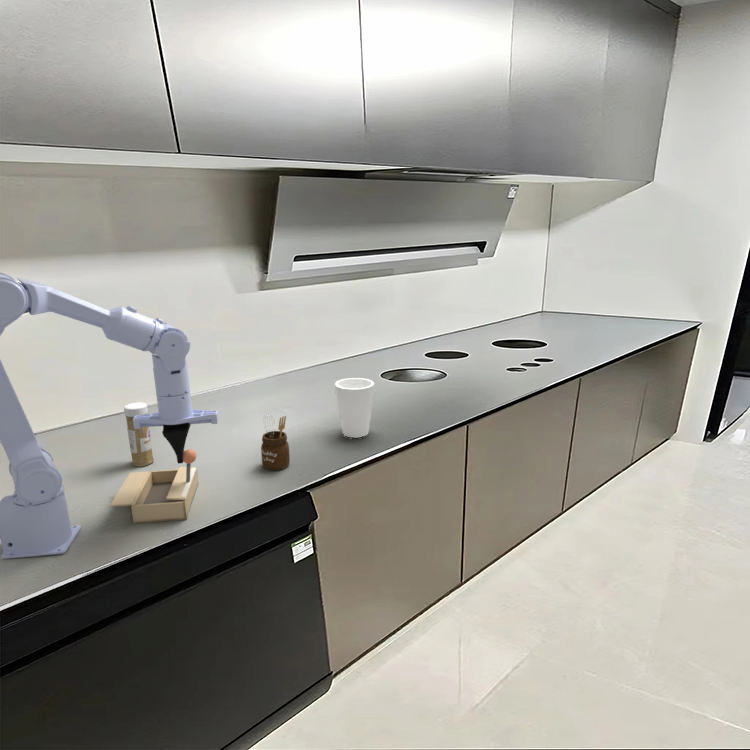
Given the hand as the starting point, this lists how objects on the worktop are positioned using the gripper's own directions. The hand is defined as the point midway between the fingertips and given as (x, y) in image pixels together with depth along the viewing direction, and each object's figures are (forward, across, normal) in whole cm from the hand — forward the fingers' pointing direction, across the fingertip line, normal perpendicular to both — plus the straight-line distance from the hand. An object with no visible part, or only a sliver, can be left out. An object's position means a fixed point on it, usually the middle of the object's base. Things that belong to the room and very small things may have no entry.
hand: (181, 461), depth 103 cm
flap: (+4, 0, 0) cm, 4 cm away
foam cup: (+9, -36, -28) cm, 46 cm away
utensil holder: (+9, -17, -13) cm, 23 cm away
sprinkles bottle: (+8, +12, -19) cm, 24 cm away
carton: (+8, +5, 0) cm, 10 cm away
